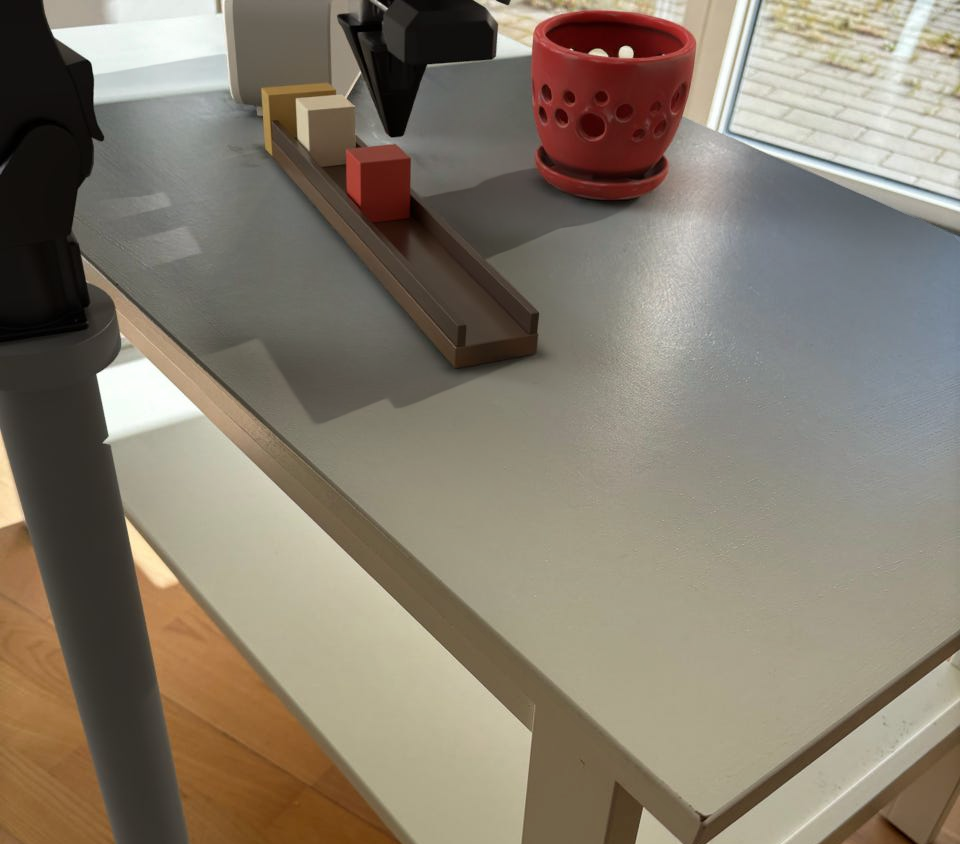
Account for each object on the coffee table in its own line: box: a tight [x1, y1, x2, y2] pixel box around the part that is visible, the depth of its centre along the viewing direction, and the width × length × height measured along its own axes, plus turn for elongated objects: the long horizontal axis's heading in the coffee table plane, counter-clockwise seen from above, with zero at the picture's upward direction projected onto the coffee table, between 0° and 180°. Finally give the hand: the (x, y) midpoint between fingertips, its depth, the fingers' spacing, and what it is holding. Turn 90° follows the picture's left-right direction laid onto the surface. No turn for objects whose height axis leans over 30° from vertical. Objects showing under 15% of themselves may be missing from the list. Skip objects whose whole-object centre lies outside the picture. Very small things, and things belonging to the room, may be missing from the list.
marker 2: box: [346, 143, 412, 223], centre depth 82 cm, size 4×3×4 cm
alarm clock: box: [222, 0, 362, 117], centre depth 105 cm, size 27×9×12 cm, turn 174°
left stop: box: [261, 83, 336, 158], centre depth 94 cm, size 6×2×5 cm, turn 116°
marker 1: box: [296, 95, 356, 167], centre depth 89 cm, size 4×3×4 cm
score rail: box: [271, 120, 540, 369], centre depth 82 cm, size 6×38×3 cm, turn 26°
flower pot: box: [530, 9, 697, 201], centre depth 91 cm, size 13×13×12 cm
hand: (394, 135), depth 77 cm, fingers closed
